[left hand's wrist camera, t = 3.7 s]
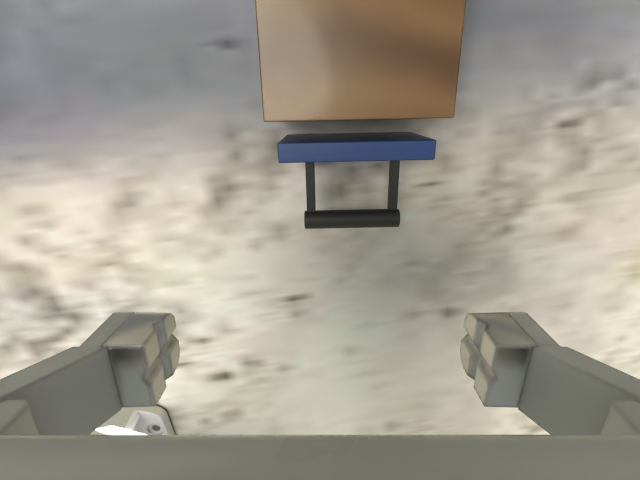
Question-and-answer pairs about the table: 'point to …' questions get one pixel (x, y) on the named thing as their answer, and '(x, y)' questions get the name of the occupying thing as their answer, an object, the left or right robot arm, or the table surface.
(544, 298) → the table surface
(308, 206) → the drawer
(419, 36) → the cabinet
